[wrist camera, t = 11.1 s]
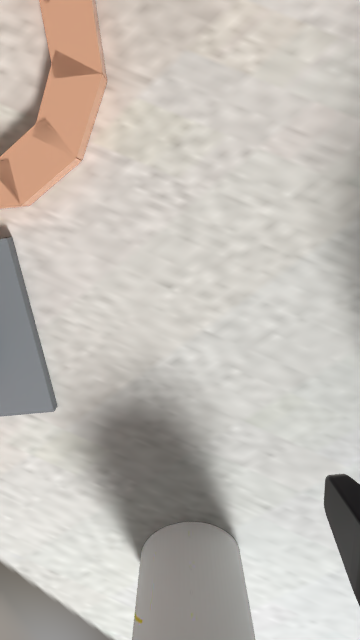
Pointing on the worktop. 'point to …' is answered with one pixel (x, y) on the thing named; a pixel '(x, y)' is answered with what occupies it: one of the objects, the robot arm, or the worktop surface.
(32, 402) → the mat
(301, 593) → the worktop surface
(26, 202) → the faceted pink ring
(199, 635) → the cup
